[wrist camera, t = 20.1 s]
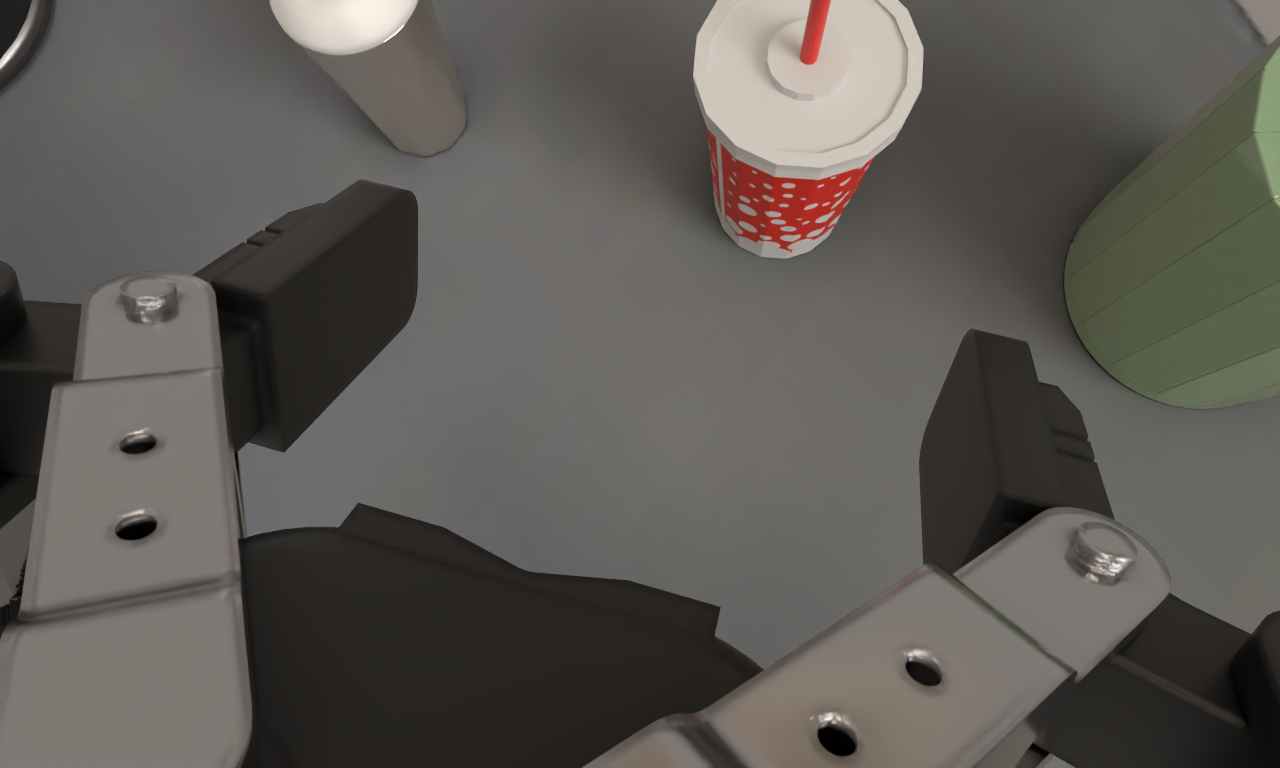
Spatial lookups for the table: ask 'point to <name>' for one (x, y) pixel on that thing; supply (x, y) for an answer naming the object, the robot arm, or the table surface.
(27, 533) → the cpu cooler
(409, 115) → the milkshake
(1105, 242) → the pen pot
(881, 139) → the beverage cup
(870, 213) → the table surface
